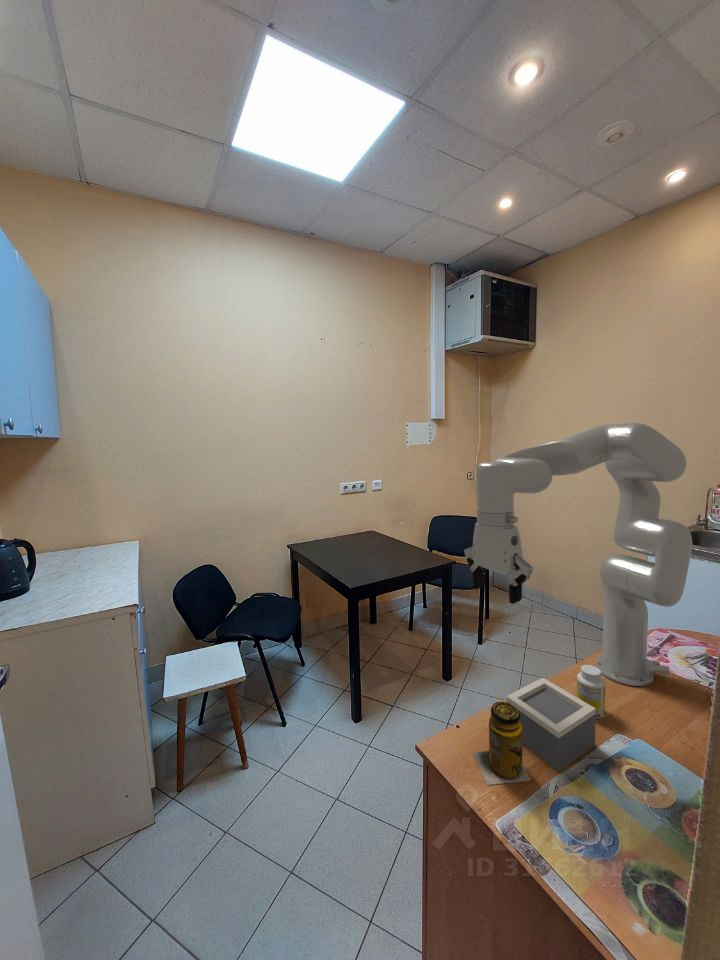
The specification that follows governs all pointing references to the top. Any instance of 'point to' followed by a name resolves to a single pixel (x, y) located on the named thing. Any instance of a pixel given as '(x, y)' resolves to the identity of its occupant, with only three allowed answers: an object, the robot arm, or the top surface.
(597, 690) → the supplement bottle
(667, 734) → the top surface
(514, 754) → the condiment
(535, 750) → the stand
